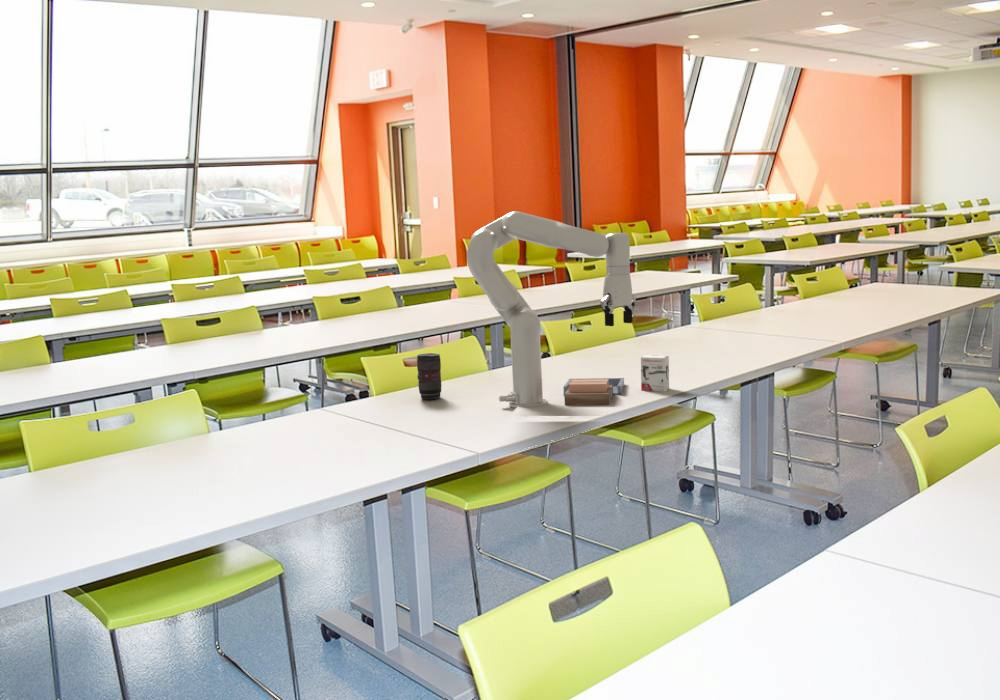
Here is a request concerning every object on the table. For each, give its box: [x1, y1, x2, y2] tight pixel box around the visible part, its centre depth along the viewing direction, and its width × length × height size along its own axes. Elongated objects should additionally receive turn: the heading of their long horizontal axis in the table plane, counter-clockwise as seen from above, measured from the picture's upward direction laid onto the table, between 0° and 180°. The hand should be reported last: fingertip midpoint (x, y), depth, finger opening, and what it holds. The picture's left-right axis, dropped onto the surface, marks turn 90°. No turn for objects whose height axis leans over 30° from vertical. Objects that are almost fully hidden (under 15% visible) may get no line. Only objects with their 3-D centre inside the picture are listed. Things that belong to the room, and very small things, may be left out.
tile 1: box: [569, 382, 608, 392], centre depth 288 cm, size 4×12×2 cm, turn 78°
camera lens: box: [416, 353, 442, 400], centre depth 309 cm, size 8×8×15 cm
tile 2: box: [571, 378, 609, 388], centre depth 293 cm, size 4×12×2 cm, turn 78°
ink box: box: [640, 354, 670, 393], centre depth 301 cm, size 9×5×12 cm, turn 62°
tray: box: [563, 377, 625, 396], centre depth 306 cm, size 16×19×3 cm
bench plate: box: [563, 385, 614, 406], centre depth 291 cm, size 16×14×4 cm
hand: (618, 324), depth 290 cm, fingers open, 9 cm apart
